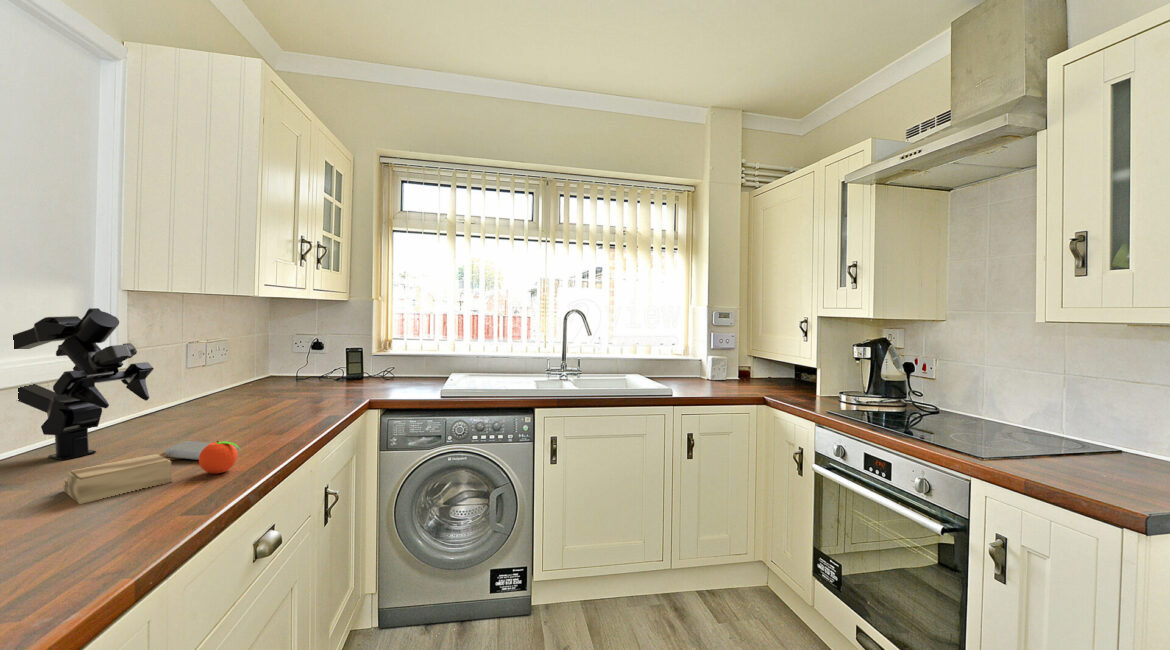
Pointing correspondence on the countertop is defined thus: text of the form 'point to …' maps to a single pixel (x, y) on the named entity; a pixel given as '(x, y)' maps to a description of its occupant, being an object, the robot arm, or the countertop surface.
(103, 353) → the robot arm
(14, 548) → the countertop surface
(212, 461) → the clementine
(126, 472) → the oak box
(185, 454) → the cover plate
